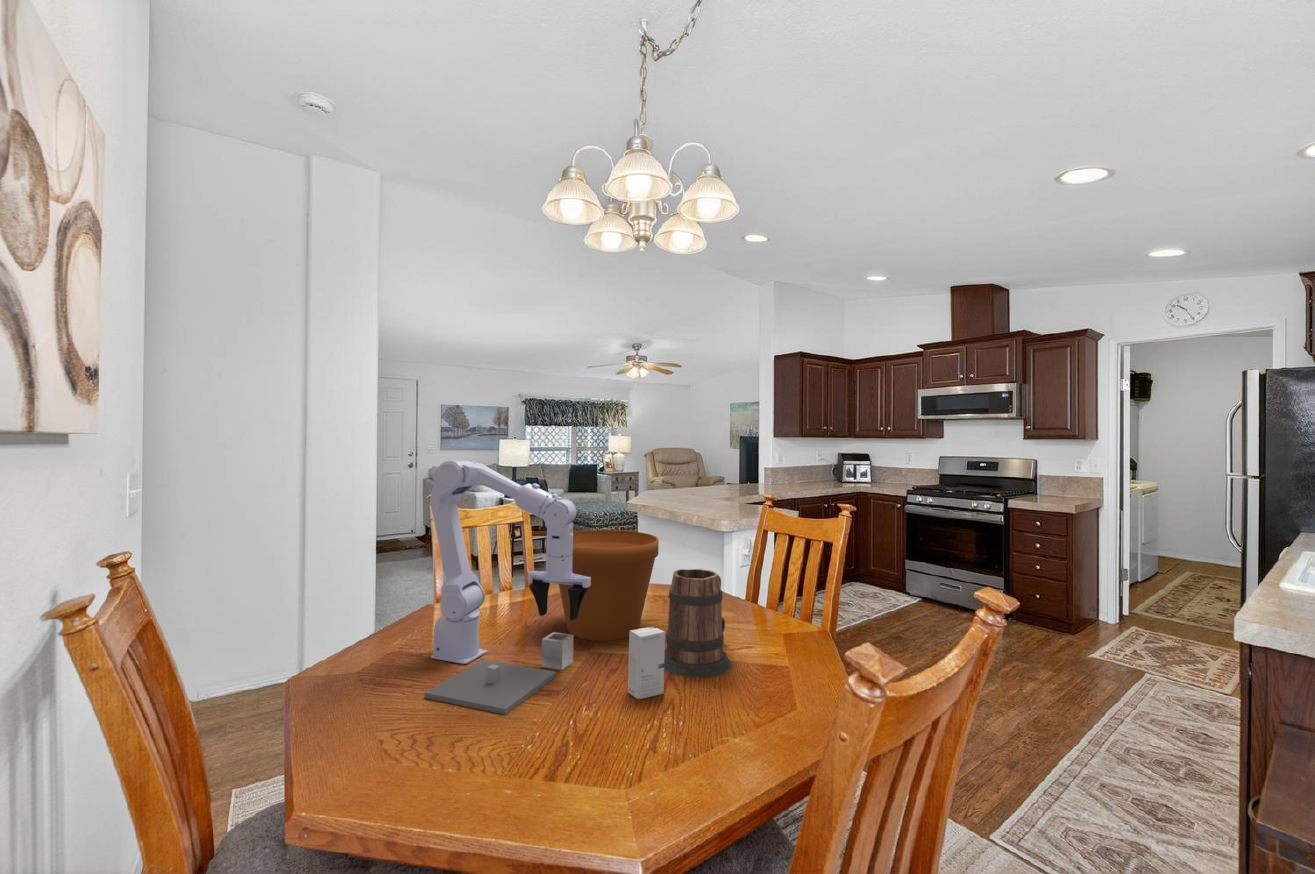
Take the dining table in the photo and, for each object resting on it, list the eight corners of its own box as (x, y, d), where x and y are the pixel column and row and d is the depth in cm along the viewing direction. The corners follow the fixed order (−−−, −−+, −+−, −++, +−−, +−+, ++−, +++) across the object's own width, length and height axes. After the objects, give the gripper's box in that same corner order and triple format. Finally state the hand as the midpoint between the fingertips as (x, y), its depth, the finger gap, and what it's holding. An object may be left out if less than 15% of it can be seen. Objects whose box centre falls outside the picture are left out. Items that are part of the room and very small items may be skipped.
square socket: (541, 666, 127) (542, 639, 127) (553, 658, 132) (553, 631, 132) (561, 670, 126) (562, 642, 126) (572, 661, 130) (573, 634, 130)
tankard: (713, 684, 120) (715, 586, 120) (642, 667, 128) (644, 575, 128) (753, 649, 141) (754, 565, 141) (689, 636, 149) (690, 557, 149)
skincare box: (638, 700, 112) (639, 637, 112) (626, 692, 116) (627, 630, 116) (665, 693, 115) (666, 631, 115) (652, 685, 119) (653, 625, 119)
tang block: (424, 697, 111) (424, 676, 111) (482, 663, 128) (483, 645, 128) (505, 714, 105) (506, 692, 105) (555, 676, 122) (556, 657, 122)
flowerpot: (676, 624, 158) (678, 536, 158) (614, 656, 134) (616, 553, 134) (594, 606, 173) (596, 526, 173) (525, 632, 149) (527, 539, 149)
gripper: (597, 554, 130) (596, 615, 130) (540, 548, 135) (539, 608, 135) (582, 560, 123) (581, 624, 123) (523, 554, 128) (522, 616, 128)
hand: (558, 616), depth 129 cm, fingers open, 7 cm apart
